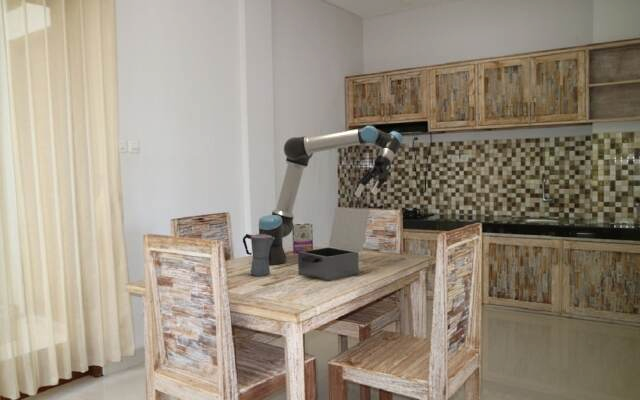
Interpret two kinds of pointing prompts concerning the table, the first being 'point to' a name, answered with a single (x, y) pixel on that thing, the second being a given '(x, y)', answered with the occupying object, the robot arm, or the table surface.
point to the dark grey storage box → (328, 263)
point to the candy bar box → (302, 237)
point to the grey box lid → (349, 228)
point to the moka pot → (259, 253)
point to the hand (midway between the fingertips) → (364, 195)
